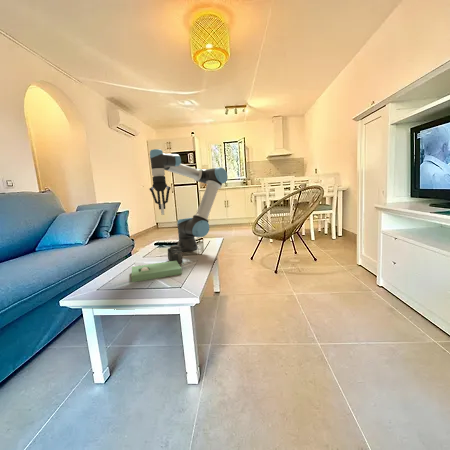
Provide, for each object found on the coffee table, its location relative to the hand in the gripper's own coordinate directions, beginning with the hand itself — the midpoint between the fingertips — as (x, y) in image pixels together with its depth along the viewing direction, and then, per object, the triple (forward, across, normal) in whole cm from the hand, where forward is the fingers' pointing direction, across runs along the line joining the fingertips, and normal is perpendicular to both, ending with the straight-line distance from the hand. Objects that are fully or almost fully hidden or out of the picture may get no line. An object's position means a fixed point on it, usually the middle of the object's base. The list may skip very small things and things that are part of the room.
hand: (162, 214), depth 151 cm
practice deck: (+28, +10, +25) cm, 39 cm away
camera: (+29, -4, +8) cm, 30 cm away
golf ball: (+26, +15, +26) cm, 40 cm away
